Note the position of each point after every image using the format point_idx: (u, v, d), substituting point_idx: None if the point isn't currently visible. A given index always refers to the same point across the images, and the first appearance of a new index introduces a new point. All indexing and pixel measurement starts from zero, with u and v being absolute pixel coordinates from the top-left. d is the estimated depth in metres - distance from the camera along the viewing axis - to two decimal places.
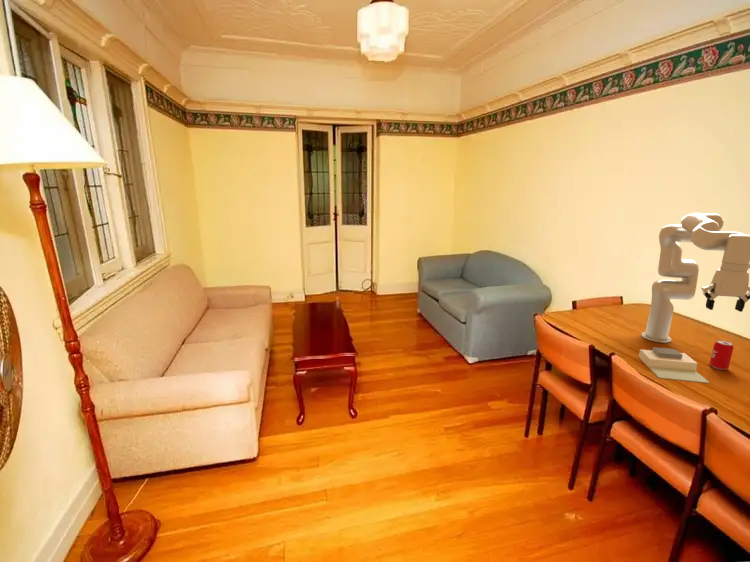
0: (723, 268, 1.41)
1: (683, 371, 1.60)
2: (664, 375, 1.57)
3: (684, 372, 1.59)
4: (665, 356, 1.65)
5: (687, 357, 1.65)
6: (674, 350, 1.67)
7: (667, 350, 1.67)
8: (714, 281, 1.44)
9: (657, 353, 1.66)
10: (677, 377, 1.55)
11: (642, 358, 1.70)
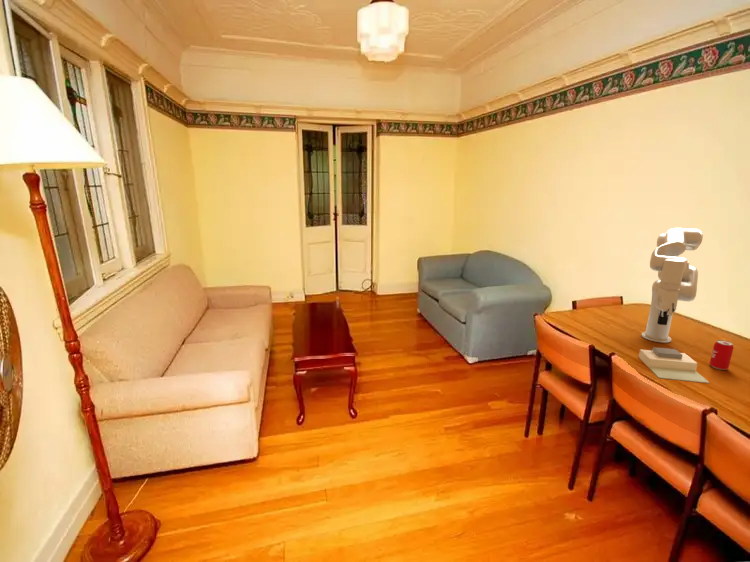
0: (675, 289, 1.65)
1: (683, 371, 1.60)
2: (664, 375, 1.57)
3: (684, 372, 1.59)
4: (665, 356, 1.65)
5: (687, 357, 1.65)
6: (674, 350, 1.67)
7: (667, 350, 1.67)
8: (671, 301, 1.65)
9: (657, 353, 1.66)
10: (677, 377, 1.55)
11: (642, 358, 1.70)
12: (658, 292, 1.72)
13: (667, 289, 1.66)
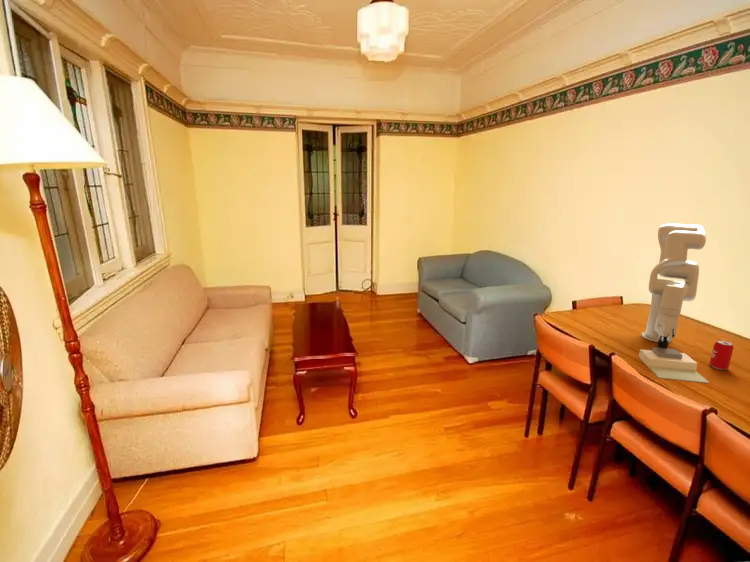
0: (675, 315, 1.63)
1: (683, 371, 1.60)
2: (664, 375, 1.57)
3: (684, 372, 1.59)
4: (665, 356, 1.65)
5: (687, 357, 1.65)
6: (674, 350, 1.67)
7: (667, 350, 1.67)
8: (671, 327, 1.64)
9: (657, 353, 1.66)
10: (677, 377, 1.55)
11: (642, 358, 1.70)
12: (658, 316, 1.71)
13: (667, 314, 1.65)
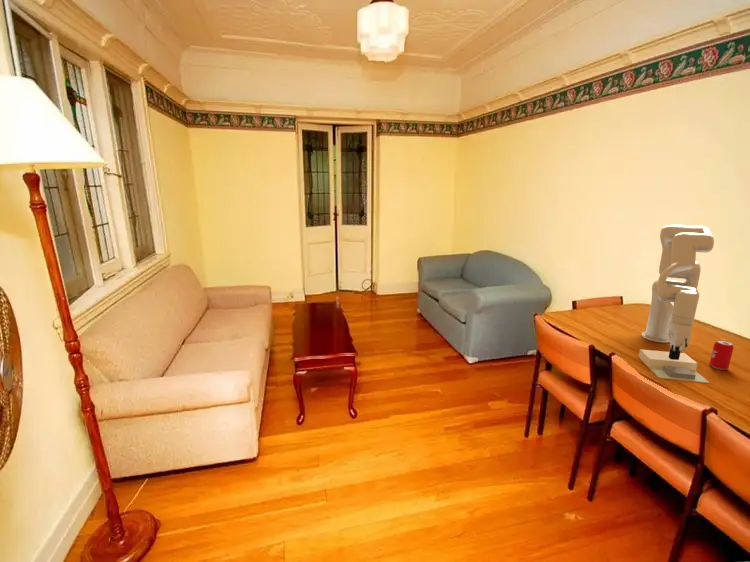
0: (688, 323, 1.53)
1: None
2: (664, 375, 1.57)
3: None
4: None
5: (687, 357, 1.65)
6: None
7: None
8: (684, 336, 1.54)
9: (664, 369, 1.60)
10: None
11: (642, 358, 1.70)
12: (669, 325, 1.61)
13: (680, 323, 1.55)
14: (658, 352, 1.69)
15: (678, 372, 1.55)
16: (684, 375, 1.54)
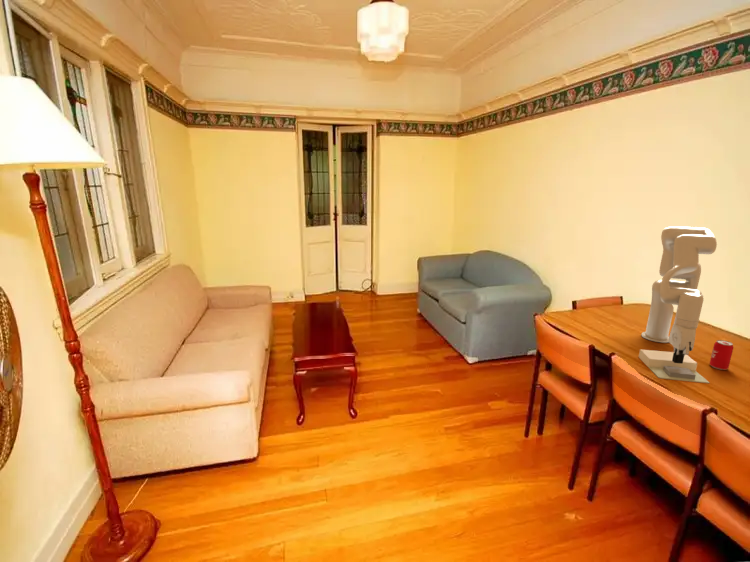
0: (692, 326, 1.51)
1: None
2: (664, 375, 1.57)
3: None
4: None
5: (687, 357, 1.65)
6: None
7: None
8: (688, 340, 1.51)
9: (664, 369, 1.60)
10: None
11: (642, 358, 1.70)
12: (673, 328, 1.58)
13: (683, 326, 1.52)
14: (658, 352, 1.69)
15: (678, 372, 1.55)
16: (684, 375, 1.54)
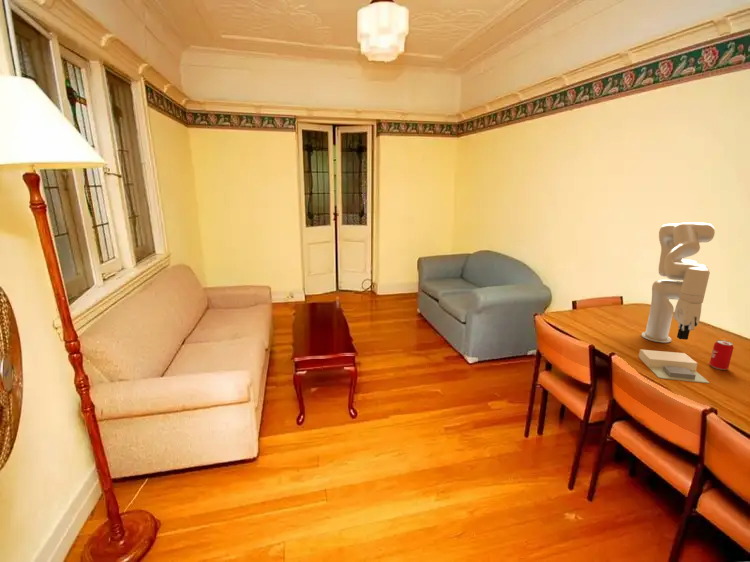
0: (698, 301, 1.48)
1: None
2: (664, 375, 1.57)
3: None
4: None
5: (687, 357, 1.65)
6: None
7: None
8: (694, 315, 1.48)
9: (664, 369, 1.60)
10: None
11: (642, 358, 1.70)
12: (678, 303, 1.55)
13: (689, 301, 1.49)
14: (658, 352, 1.69)
15: (678, 372, 1.55)
16: (684, 375, 1.54)
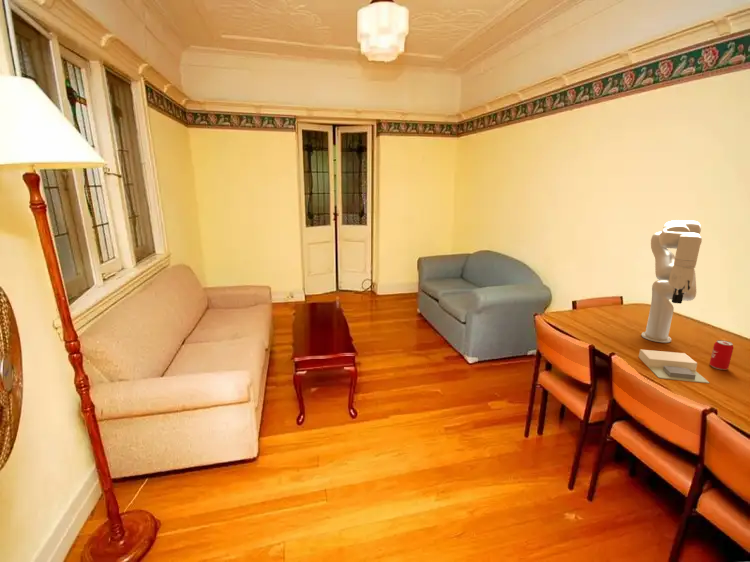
0: (690, 266, 1.59)
1: None
2: (664, 375, 1.57)
3: None
4: None
5: (687, 357, 1.65)
6: None
7: None
8: (687, 279, 1.59)
9: (664, 369, 1.60)
10: None
11: (642, 358, 1.70)
12: (673, 270, 1.67)
13: (682, 266, 1.60)
14: (658, 352, 1.69)
15: (678, 372, 1.55)
16: (684, 375, 1.54)
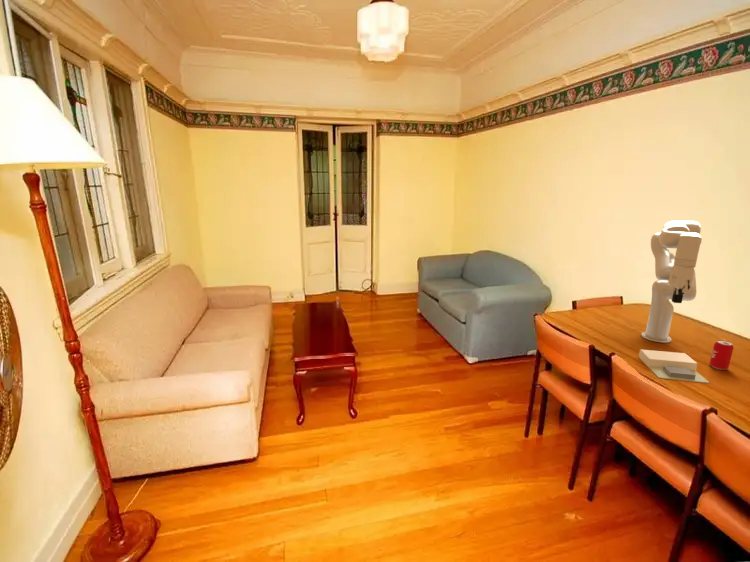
0: (690, 265, 1.59)
1: None
2: (664, 375, 1.57)
3: None
4: None
5: (687, 357, 1.65)
6: None
7: None
8: (687, 278, 1.60)
9: (664, 369, 1.60)
10: None
11: (642, 358, 1.70)
12: (673, 269, 1.67)
13: (682, 265, 1.60)
14: (658, 352, 1.69)
15: (678, 372, 1.55)
16: (684, 375, 1.54)
